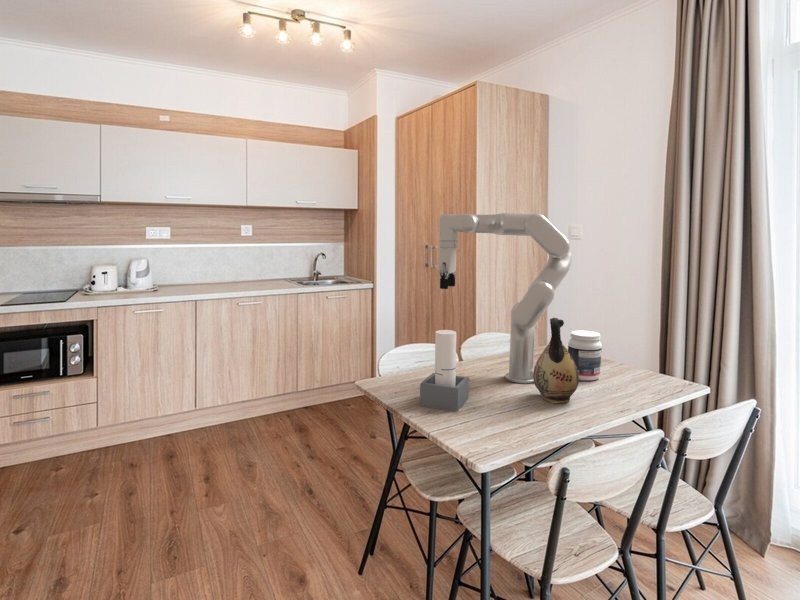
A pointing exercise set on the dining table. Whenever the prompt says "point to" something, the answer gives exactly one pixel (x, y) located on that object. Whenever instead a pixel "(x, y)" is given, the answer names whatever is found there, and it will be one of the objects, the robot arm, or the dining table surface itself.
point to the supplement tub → (586, 353)
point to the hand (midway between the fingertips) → (447, 287)
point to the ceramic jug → (556, 369)
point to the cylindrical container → (445, 357)
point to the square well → (444, 393)
